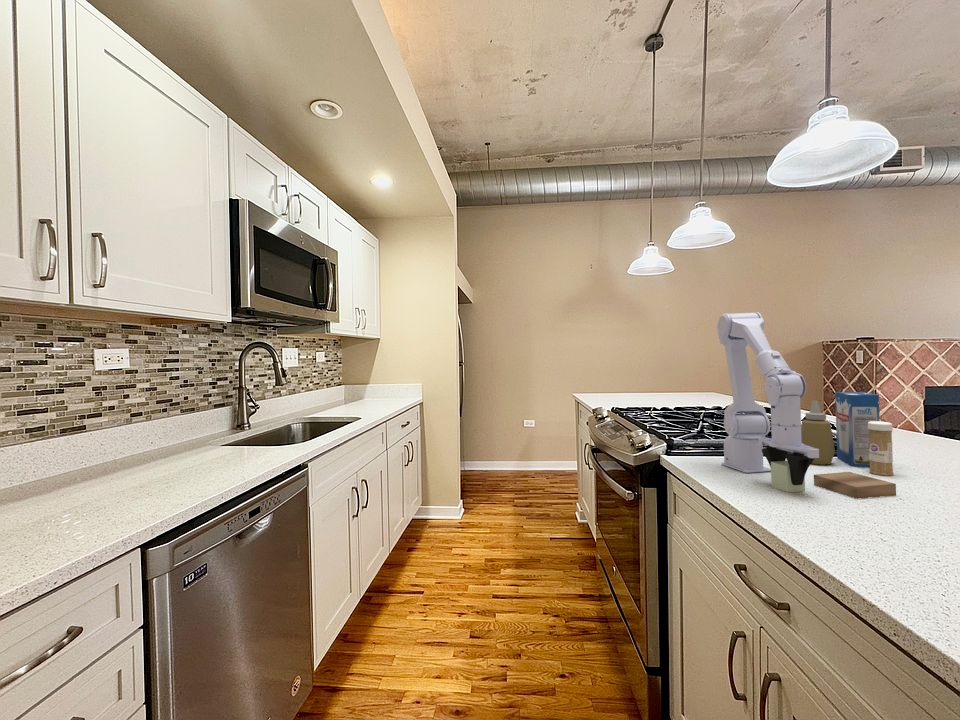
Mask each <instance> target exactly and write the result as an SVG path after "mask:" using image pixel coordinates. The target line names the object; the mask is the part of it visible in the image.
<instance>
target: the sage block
mask: <svg viewBox="0 0 960 720" xmlns="http://www.w3.org/2000/svg"><path fill="white" fill-rule="evenodd" d="M770 469H771V471H770V474H771V487H772V488H775V489H778V490H780V491H783V492H786V493H796V492H806V479H805V477H806V476H805V477H804V481H803V484H802V485H792V481H791V474H790V467H789V464H788V461H787V460H785V461H776V462H771V467H770Z"/></svg>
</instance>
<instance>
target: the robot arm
mask: <svg viewBox="0 0 960 720" xmlns="http://www.w3.org/2000/svg"><path fill="white" fill-rule="evenodd" d="M763 317H764V316H763V315H762V314H761V313H760V312H758V311H754V312H738V313H736V312H735V313H726V312H725V313H724V312H723V313H722V314H721V315H720V316H719V319H718V322H717V333H718V334H717V335H718V339H719V343H720V345H722V346H724V349H725V356H726V363H727V369H728V375H729V382H730V388H731V394H732V402H733V403H731V404H730V405H729V406H727V407H726V408H725V410H723V411H724V412H723V413H724V416H723V419H724V420H723V428H724V430H725V432H726V434H728V436H726V437H725V438H724V442H723V455H724V456H723V457H724V458H723V460H724V461H723V462H721V465H723V466H725V467H728V468H731V469H734V470H736V471H739V472H742V473H745V474H747V473H763V472H764V473H765V472H771V462H776V461H788V464H789V467H790V474H791V481H792V485H802V484H803V481H804V477H806V474H807V472H808V470H809V467H810V465H811V464H812V461H813V460H814V458H819V449H816V448H813V447H810V446H807V445H805V444H802V436H801V426H802V415H801V414H802V412H801V411H802V410H801V409H802V408H801V398H803V397H804V396H805V395H806V392H807V383H806V380H805V378H804V376H803V375H802V374H800V373H797V372H796V371H795V370H791V368H790V366H789V365H788V363H787V362H786V360H785V359H784V357H783V356H782V354H781V353H780V351H777V350H773V349H772V347H771V345H770V342H769V341H768V338H767V336H766V335H765V332H764V328H765V320H764V318H763ZM748 346H749V347H750V349H751V350H752V351H753V353H754V354H755V355H756V358H755V359H754V363H755V365H756V366H757V368H758V370H759V372H760V373H761V375H762V377H763V379H764V381H765V382H764V386H763V388H764V392H765V395H766V396H767V404H768V406H769V405H770V419H769V416H767V412H766V408H765V407H764V406H762V405H760V404H759V403H757V402H756V401H755V396H754V389H753V385H752V380H751V379H752V378H751V373H750V367H749V361H748V355H747V350H746V349H747V347H748ZM770 431H771V437H766V436H767V435H768V434H769V433H770ZM763 446H764V447H765V448H764V447H763ZM789 452H790V454H788V453H789ZM764 457H765V458H766V460H767V462H768V465H769V467H770V468H769V467H766V466H764Z"/></svg>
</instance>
